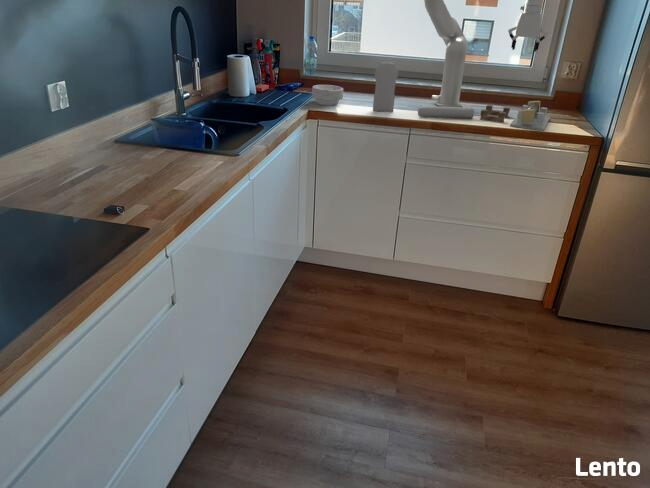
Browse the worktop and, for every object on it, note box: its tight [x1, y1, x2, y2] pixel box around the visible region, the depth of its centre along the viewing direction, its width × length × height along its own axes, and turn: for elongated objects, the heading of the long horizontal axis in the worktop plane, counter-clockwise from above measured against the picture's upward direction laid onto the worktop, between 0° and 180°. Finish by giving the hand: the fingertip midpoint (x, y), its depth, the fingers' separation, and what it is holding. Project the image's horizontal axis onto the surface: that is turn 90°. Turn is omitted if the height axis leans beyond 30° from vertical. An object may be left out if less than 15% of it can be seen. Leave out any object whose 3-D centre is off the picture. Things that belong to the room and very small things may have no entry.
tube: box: [417, 105, 475, 120], centre depth 231 cm, size 5×5×25 cm
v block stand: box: [509, 104, 551, 132], centre depth 227 cm, size 14×26×6 cm, turn 153°
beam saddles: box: [479, 104, 511, 123], centre depth 234 cm, size 10×15×4 cm
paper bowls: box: [311, 84, 344, 106], centre depth 247 cm, size 15×15×8 cm
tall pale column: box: [372, 61, 399, 113], centre depth 233 cm, size 11×4×22 cm, turn 94°
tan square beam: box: [521, 100, 541, 123], centre depth 227 cm, size 5×24×5 cm, turn 153°
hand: (524, 50), depth 234 cm, fingers open, 9 cm apart
